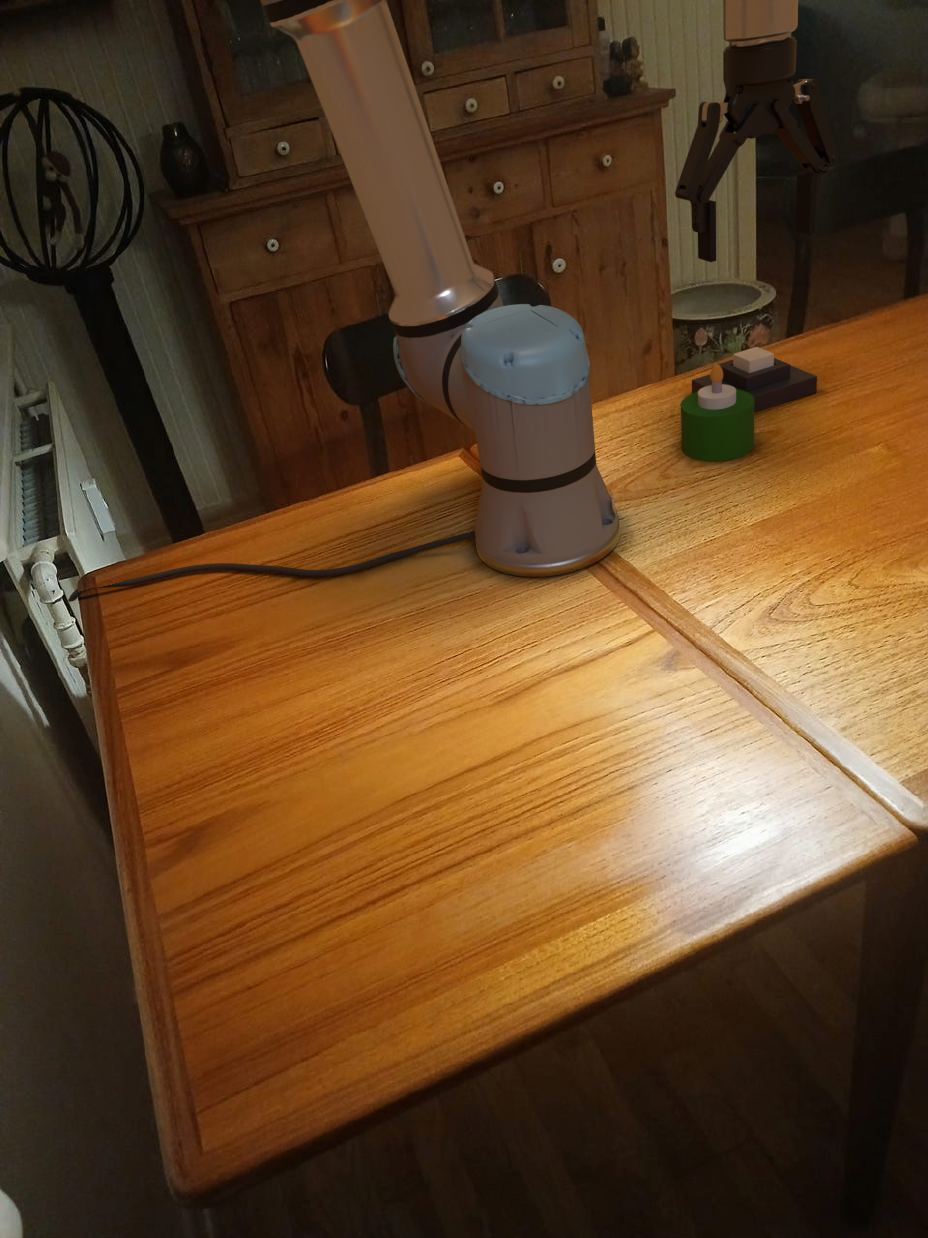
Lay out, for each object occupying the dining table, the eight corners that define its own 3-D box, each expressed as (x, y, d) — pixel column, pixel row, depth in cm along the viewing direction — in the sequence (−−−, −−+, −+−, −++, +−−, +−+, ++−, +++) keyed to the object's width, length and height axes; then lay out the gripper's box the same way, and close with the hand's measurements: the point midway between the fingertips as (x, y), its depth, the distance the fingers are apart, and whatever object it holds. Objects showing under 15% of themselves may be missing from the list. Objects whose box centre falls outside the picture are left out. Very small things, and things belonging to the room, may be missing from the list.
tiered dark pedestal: (735, 418, 118) (735, 388, 116) (691, 395, 126) (690, 366, 124) (816, 392, 121) (818, 362, 119) (768, 371, 129) (769, 342, 127)
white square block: (749, 374, 120) (749, 361, 119) (732, 366, 123) (732, 353, 122) (773, 366, 120) (774, 353, 119) (756, 359, 123) (756, 346, 122)
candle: (726, 467, 108) (726, 383, 103) (667, 451, 114) (664, 371, 108) (768, 439, 112) (769, 357, 107) (709, 425, 118) (708, 347, 112)
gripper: (834, 18, 107) (824, 217, 119) (638, 61, 102) (648, 265, 113) (881, 16, 101) (865, 226, 113) (675, 62, 96) (681, 277, 107)
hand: (756, 246), depth 113 cm, fingers open, 13 cm apart
